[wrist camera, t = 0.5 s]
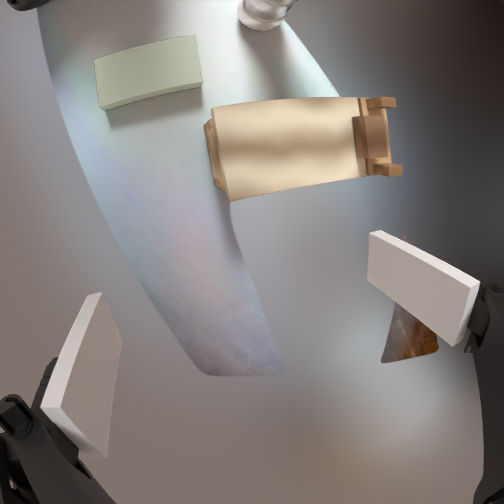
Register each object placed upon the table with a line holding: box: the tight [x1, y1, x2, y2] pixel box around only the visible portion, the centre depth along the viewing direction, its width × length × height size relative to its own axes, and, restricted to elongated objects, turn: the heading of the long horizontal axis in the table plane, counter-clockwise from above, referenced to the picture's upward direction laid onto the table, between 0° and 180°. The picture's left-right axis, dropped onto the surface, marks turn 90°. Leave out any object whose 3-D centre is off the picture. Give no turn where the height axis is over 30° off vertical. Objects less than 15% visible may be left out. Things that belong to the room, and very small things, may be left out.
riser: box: [94, 35, 203, 111], centre depth 28 cm, size 7×13×3 cm, turn 100°
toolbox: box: [204, 97, 403, 190], centre depth 31 cm, size 10×22×12 cm, turn 100°
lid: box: [211, 97, 366, 202], centre depth 29 cm, size 10×17×2 cm, turn 100°
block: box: [352, 116, 388, 159], centre depth 29 cm, size 5×3×2 cm, turn 10°
